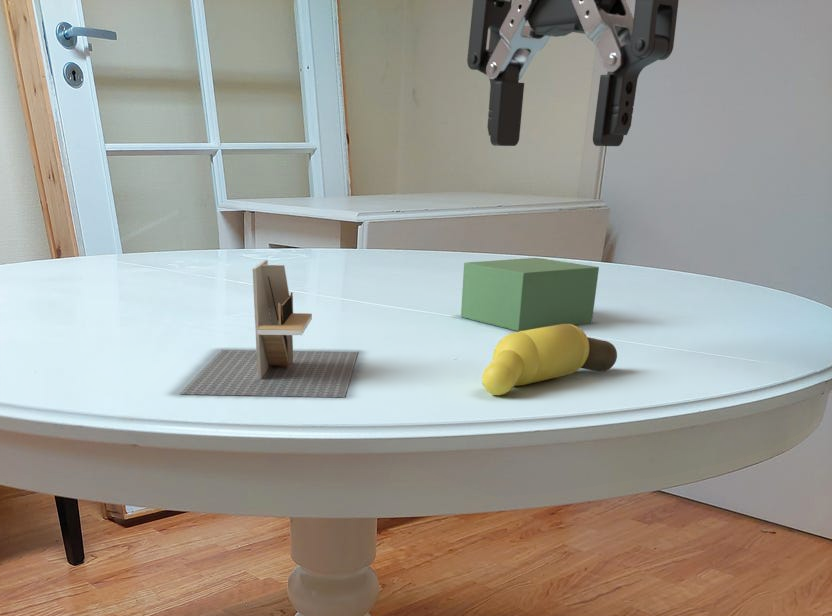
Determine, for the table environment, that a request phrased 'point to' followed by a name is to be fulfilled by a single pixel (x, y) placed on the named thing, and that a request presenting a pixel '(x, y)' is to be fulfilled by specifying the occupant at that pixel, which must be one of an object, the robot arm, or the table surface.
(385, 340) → the table surface
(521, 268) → the block
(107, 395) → the table surface
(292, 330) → the architectural model
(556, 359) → the knobbed yellow capsule
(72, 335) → the table surface
